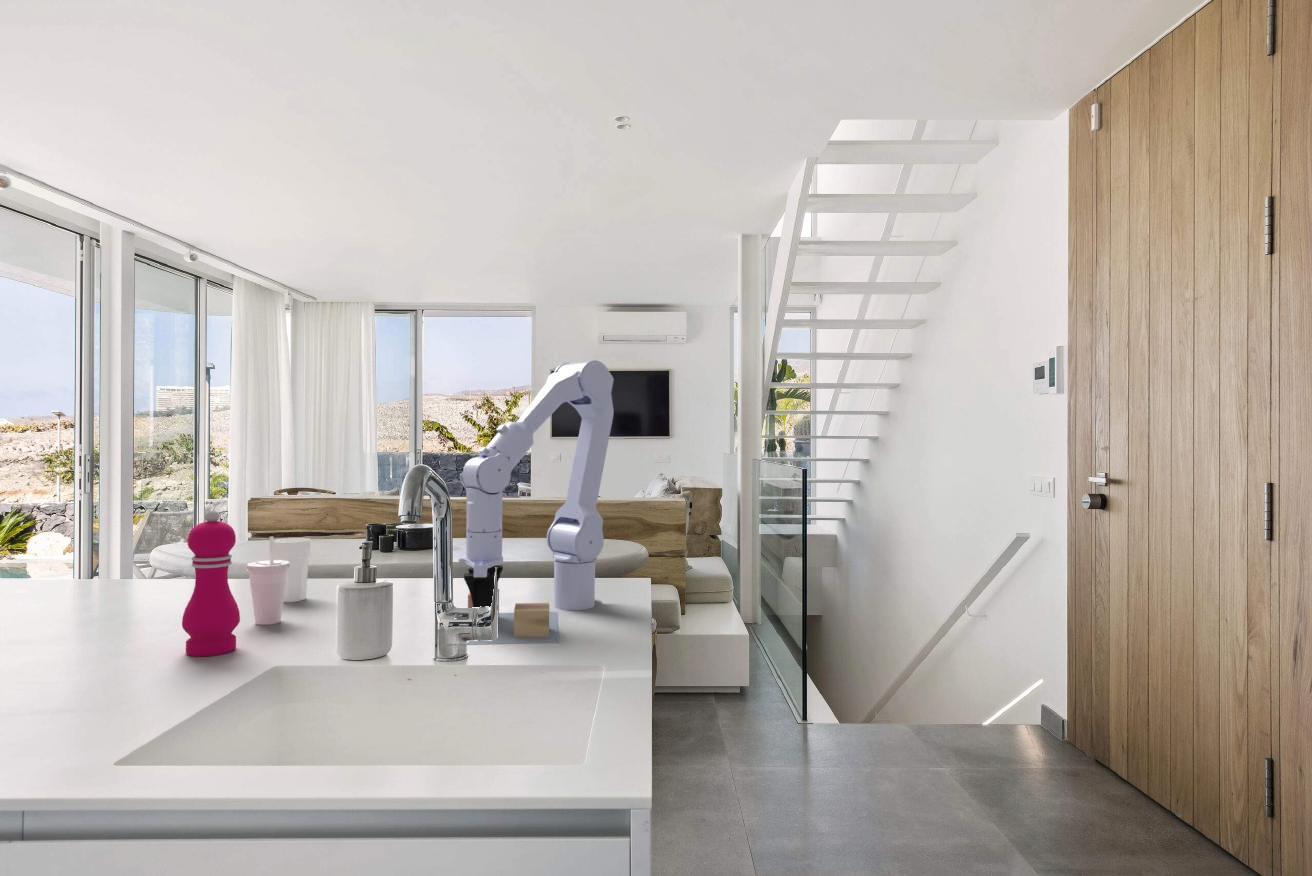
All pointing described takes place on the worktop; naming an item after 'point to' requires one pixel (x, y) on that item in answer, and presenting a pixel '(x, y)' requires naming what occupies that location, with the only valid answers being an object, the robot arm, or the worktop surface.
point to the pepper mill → (211, 590)
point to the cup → (294, 565)
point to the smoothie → (268, 588)
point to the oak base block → (531, 620)
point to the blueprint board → (508, 637)
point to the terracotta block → (472, 603)
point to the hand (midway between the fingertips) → (483, 614)
